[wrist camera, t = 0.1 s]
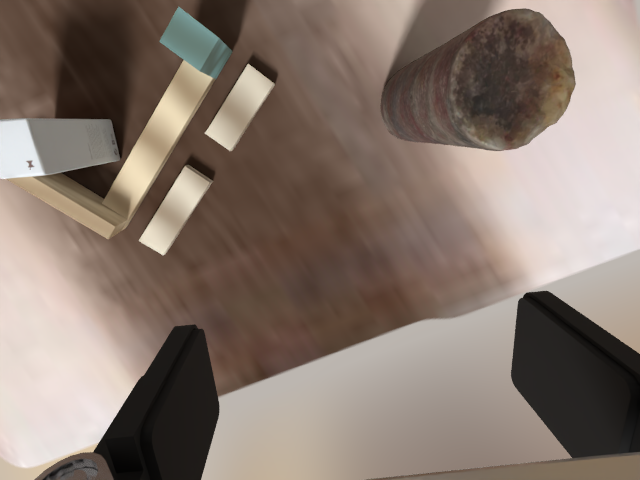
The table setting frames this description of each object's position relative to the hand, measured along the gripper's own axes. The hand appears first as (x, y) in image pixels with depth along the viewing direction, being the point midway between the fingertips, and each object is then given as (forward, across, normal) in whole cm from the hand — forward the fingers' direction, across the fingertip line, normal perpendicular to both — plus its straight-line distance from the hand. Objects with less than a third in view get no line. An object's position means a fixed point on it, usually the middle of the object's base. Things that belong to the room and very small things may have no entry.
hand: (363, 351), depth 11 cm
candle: (+31, -10, -7) cm, 34 cm away
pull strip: (+31, +18, -8) cm, 37 cm away
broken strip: (+31, +12, -3) cm, 33 cm away
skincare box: (+31, +24, -6) cm, 40 cm away
